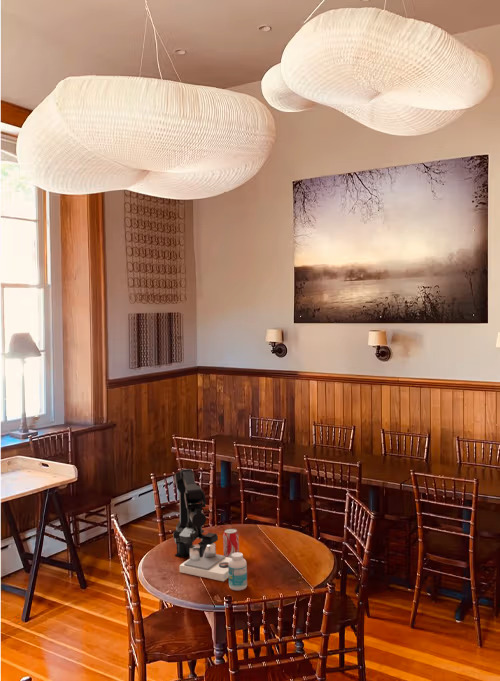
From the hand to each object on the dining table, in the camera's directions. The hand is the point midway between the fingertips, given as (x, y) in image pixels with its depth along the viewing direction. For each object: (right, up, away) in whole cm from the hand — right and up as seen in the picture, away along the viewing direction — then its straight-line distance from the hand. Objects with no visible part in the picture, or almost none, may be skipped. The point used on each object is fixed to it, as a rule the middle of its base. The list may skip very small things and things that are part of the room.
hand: (195, 556), depth 253 cm
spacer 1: (0, -1, 0) cm, 1 cm away
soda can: (+14, -10, +26) cm, 31 cm away
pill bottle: (+18, -11, -5) cm, 21 cm away
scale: (+5, -10, +12) cm, 17 cm away
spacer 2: (+5, -6, +18) cm, 19 cm away
